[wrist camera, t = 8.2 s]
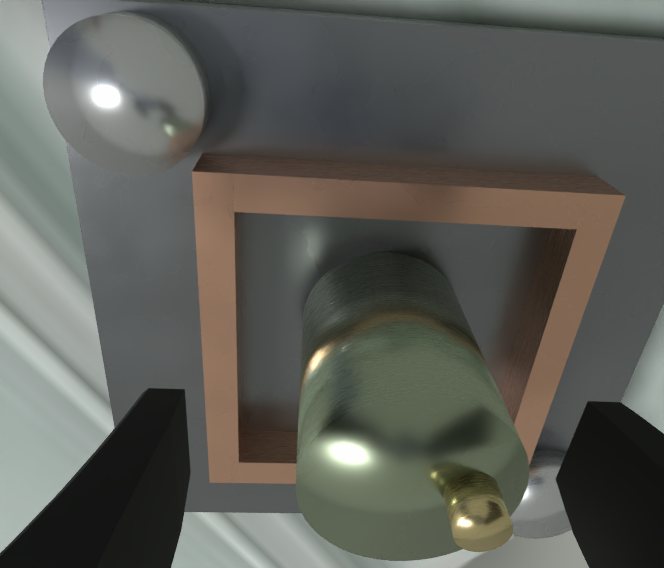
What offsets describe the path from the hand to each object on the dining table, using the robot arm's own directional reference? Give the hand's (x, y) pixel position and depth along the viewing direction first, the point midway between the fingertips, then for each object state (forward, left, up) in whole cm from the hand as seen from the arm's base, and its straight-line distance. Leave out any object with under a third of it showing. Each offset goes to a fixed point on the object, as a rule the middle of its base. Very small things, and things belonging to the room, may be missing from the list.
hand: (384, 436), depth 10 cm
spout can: (+1, -2, -7) cm, 8 cm away
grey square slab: (+1, -3, -9) cm, 10 cm away
